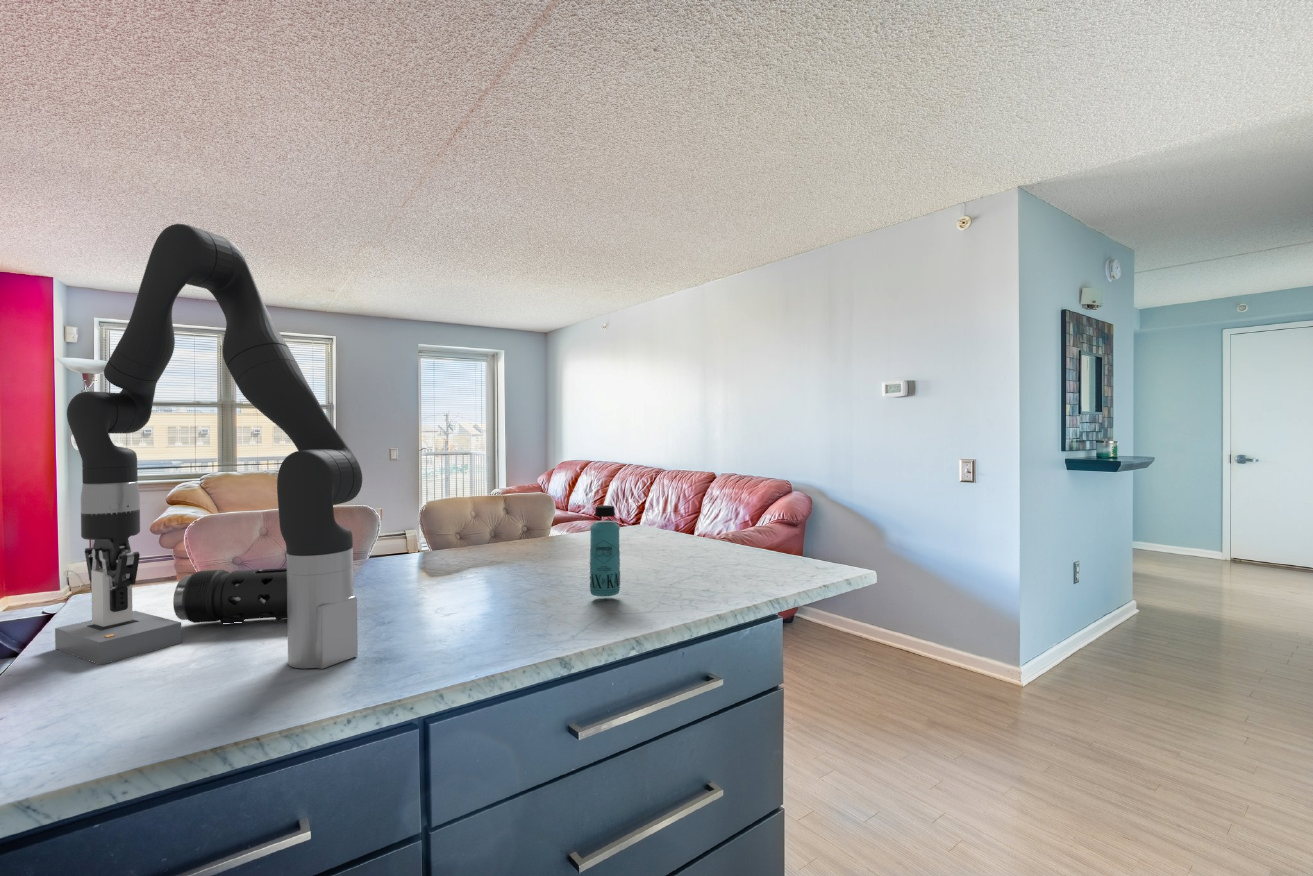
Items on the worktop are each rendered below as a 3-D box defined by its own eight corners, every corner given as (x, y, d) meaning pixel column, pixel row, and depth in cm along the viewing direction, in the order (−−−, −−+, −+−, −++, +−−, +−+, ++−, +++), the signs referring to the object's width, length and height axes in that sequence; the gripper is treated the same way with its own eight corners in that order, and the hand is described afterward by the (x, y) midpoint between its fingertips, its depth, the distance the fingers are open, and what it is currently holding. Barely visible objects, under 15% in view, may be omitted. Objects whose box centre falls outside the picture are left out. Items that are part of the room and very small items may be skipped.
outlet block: (181, 642, 104) (181, 621, 104) (100, 664, 94) (99, 641, 94) (135, 629, 111) (135, 609, 111) (55, 648, 102) (54, 627, 102)
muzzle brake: (340, 623, 114) (339, 569, 114) (170, 635, 109) (169, 578, 108) (354, 609, 124) (353, 558, 124) (199, 619, 118) (198, 566, 118)
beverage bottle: (587, 597, 131) (586, 504, 130) (616, 594, 133) (616, 503, 132) (593, 605, 124) (592, 508, 124) (624, 602, 126) (623, 506, 126)
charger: (132, 620, 105) (131, 567, 104) (103, 626, 101) (102, 571, 101) (121, 616, 106) (120, 564, 106) (92, 623, 103) (91, 569, 103)
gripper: (158, 508, 104) (159, 608, 104) (118, 504, 110) (119, 598, 110) (102, 514, 97) (104, 620, 97) (63, 509, 103) (65, 609, 104)
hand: (112, 608), depth 104 cm, fingers closed on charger, 4 cm apart
